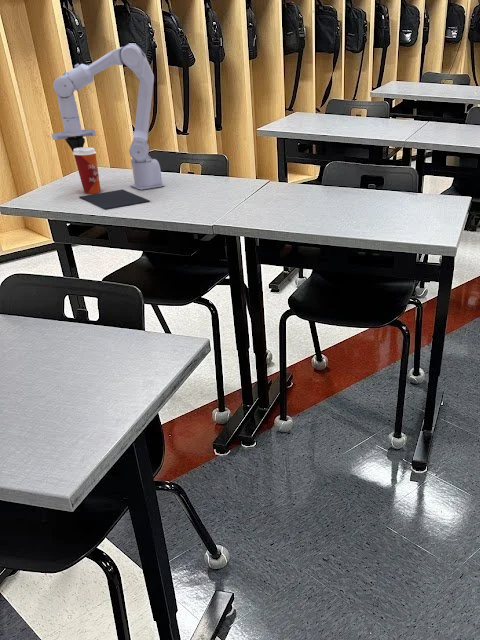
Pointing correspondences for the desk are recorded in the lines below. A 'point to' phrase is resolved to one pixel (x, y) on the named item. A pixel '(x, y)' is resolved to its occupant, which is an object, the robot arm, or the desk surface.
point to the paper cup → (87, 169)
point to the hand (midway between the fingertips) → (79, 160)
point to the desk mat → (114, 199)
